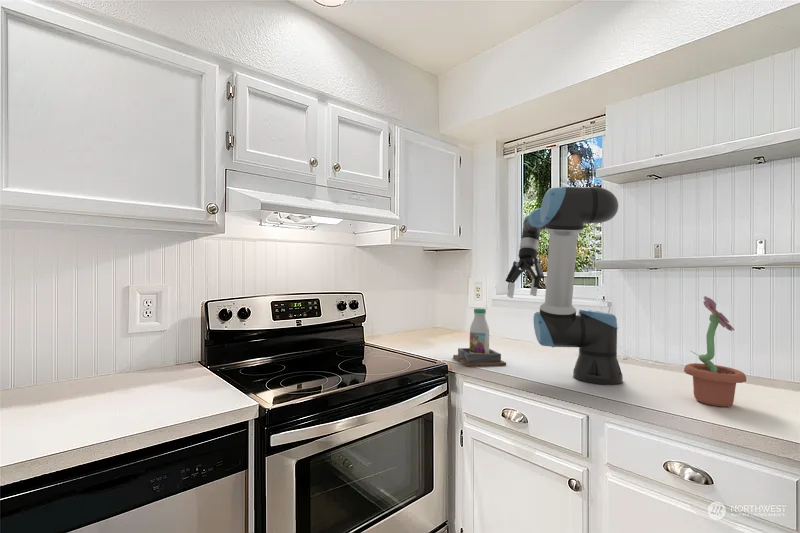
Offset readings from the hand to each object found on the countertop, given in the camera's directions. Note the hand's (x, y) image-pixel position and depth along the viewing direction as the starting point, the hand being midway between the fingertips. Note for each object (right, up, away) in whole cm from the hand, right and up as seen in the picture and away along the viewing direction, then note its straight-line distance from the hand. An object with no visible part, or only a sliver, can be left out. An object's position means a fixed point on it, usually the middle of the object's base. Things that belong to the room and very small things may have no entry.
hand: (521, 296), depth 171 cm
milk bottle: (-20, -24, -10) cm, 33 cm away
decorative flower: (+37, -26, -58) cm, 74 cm away
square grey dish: (-20, -25, -10) cm, 34 cm away
